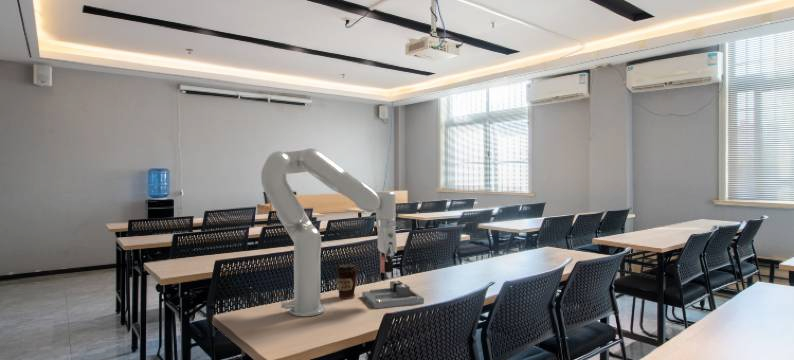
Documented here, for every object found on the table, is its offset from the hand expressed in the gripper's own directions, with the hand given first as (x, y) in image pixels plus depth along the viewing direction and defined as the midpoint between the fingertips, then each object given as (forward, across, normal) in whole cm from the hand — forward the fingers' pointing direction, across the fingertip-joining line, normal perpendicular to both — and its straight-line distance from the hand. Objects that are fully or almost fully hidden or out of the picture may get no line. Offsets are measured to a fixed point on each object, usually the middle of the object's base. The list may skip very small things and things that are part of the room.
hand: (386, 269), depth 173 cm
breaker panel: (+13, +4, -4) cm, 14 cm away
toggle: (+11, 0, -7) cm, 13 cm away
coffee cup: (+13, +14, +12) cm, 23 cm away
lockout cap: (+1, 0, 0) cm, 1 cm away
